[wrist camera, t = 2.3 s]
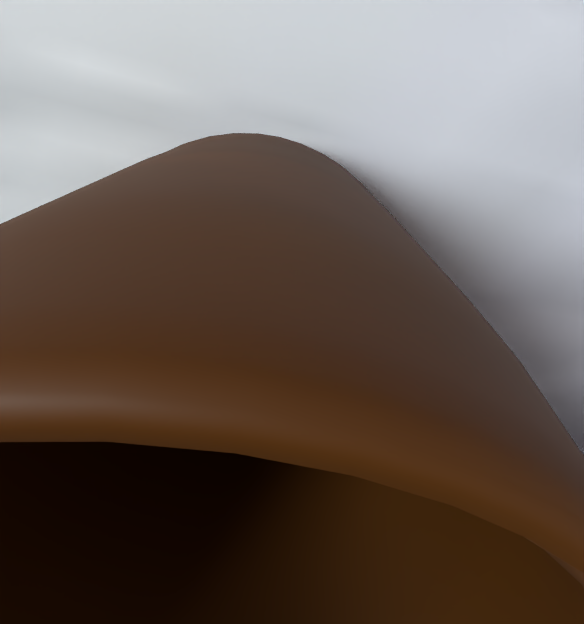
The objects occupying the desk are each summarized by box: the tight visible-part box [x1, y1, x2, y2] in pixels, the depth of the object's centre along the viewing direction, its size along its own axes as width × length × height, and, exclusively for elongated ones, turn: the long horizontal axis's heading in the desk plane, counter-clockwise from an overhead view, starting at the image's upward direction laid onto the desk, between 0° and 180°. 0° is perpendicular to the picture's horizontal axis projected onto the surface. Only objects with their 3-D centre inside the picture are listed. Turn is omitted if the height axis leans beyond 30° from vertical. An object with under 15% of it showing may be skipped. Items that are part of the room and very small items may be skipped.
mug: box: [0, 133, 584, 624], centre depth 8 cm, size 12×8×9 cm, turn 168°
